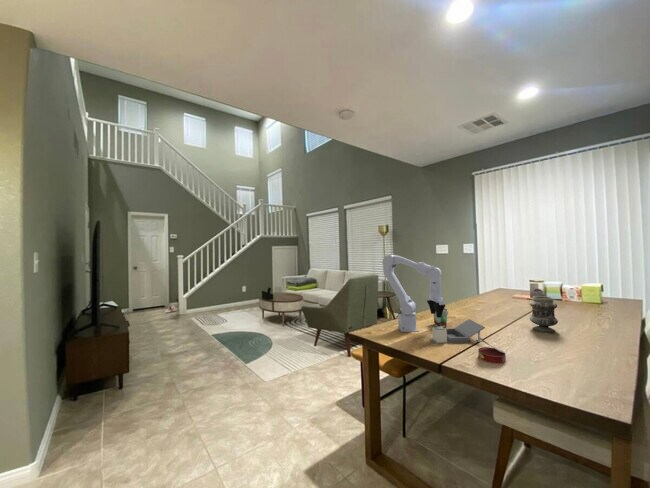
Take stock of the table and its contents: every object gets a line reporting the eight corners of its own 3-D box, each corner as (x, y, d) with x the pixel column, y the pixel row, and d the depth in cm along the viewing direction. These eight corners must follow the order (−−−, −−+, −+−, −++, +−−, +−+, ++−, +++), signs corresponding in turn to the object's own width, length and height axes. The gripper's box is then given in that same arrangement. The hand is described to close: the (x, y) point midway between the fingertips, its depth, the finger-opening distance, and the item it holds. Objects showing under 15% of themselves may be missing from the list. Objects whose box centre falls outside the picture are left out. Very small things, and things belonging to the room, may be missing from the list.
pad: (434, 344, 134) (434, 343, 134) (428, 339, 141) (428, 338, 141) (449, 343, 134) (448, 343, 134) (442, 338, 141) (442, 338, 141)
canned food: (481, 364, 121) (480, 341, 125) (508, 368, 115) (506, 343, 119) (474, 360, 114) (474, 335, 118) (503, 363, 107) (501, 337, 112)
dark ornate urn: (547, 326, 155) (547, 294, 155) (564, 333, 143) (563, 299, 143) (524, 326, 157) (524, 295, 156) (539, 333, 145) (538, 299, 144)
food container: (452, 329, 155) (452, 311, 155) (441, 329, 155) (441, 311, 155) (443, 322, 167) (443, 306, 167) (433, 323, 168) (432, 306, 167)
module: (436, 342, 135) (436, 329, 135) (432, 339, 140) (432, 326, 140) (446, 342, 135) (446, 329, 135) (442, 338, 140) (442, 326, 140)
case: (450, 343, 134) (450, 328, 134) (438, 333, 148) (437, 319, 148) (485, 342, 134) (485, 327, 134) (469, 332, 149) (469, 319, 149)
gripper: (449, 292, 141) (449, 318, 141) (437, 287, 155) (437, 311, 155) (435, 292, 141) (436, 319, 141) (424, 288, 155) (425, 312, 155)
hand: (436, 315), depth 148 cm, fingers open, 7 cm apart
